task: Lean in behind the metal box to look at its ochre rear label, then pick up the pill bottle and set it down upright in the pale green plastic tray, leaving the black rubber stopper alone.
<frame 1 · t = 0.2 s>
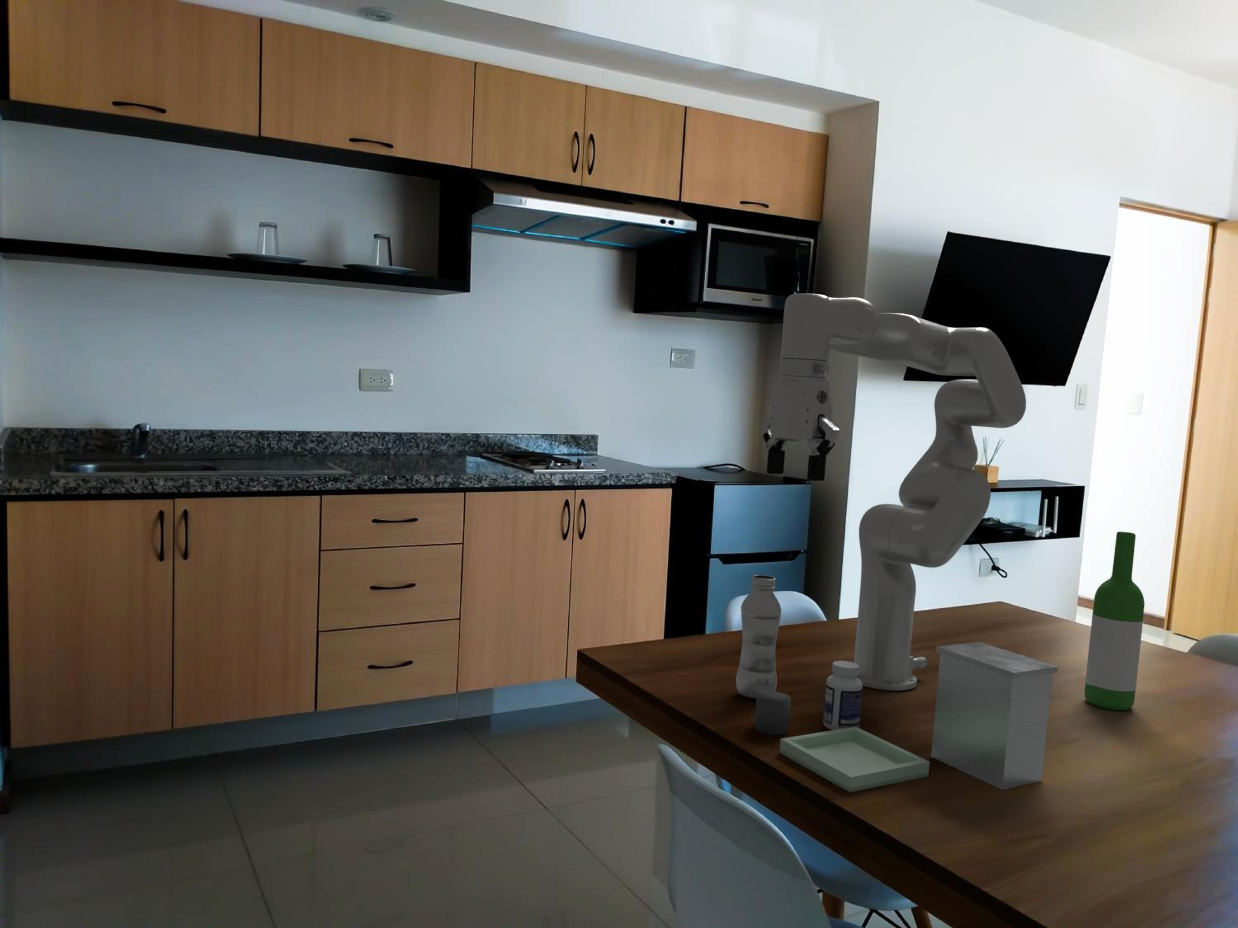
hand: (794, 477, 156), 36 cm above the table, tool pointing down, fingers open, 9 cm apart
wine bottle: (1108, 705, 166), on the table
tray: (852, 764, 131), on the table
stopper: (771, 729, 143), on the table
plastic bottle: (755, 698, 158), on the table
metal box: (985, 768, 133), on the table
pill bottle: (840, 728, 146), on the table
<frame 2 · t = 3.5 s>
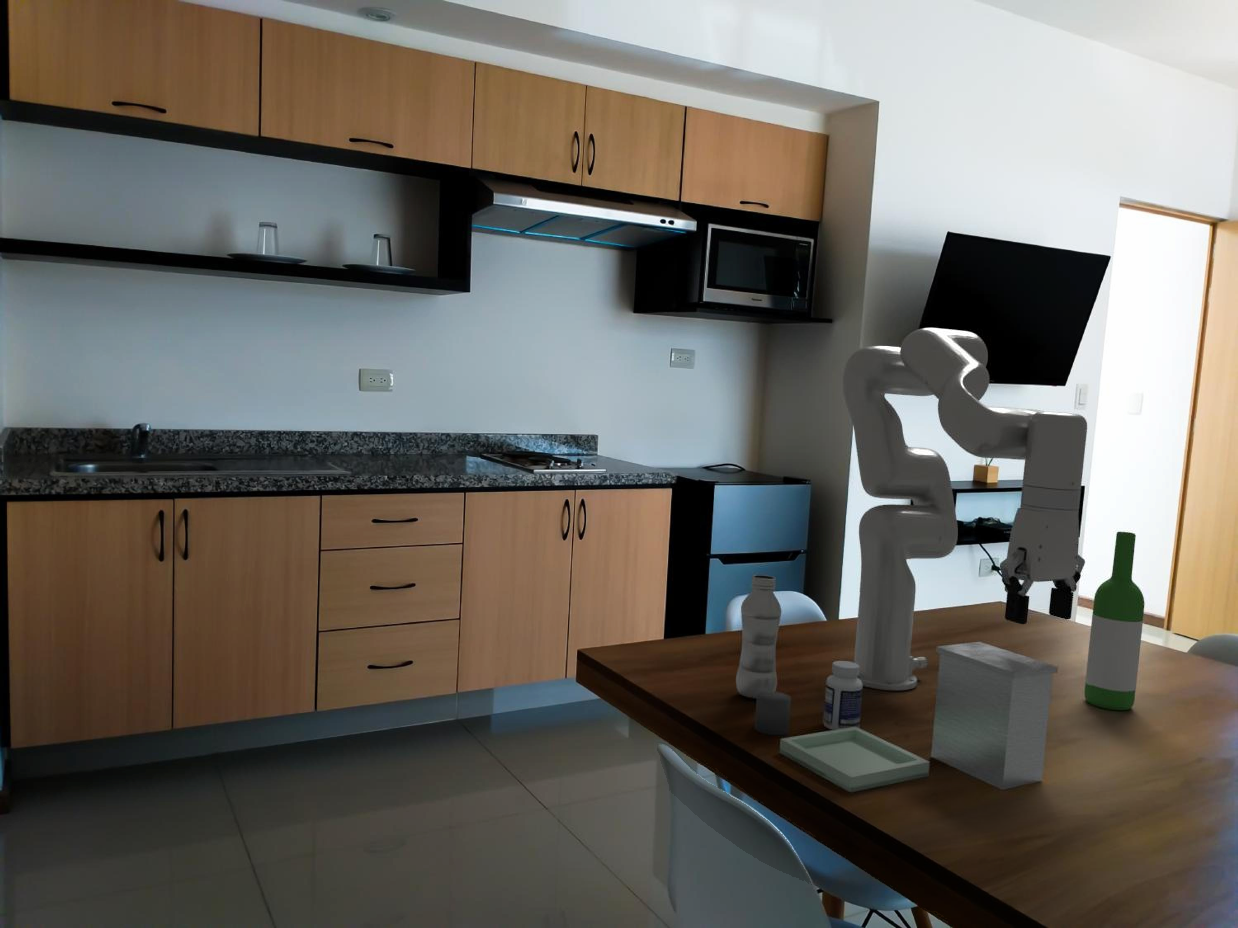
hand: (1037, 619, 136), 20 cm above the table, tool pointing down, fingers open, 9 cm apart
nothing on the table moved.
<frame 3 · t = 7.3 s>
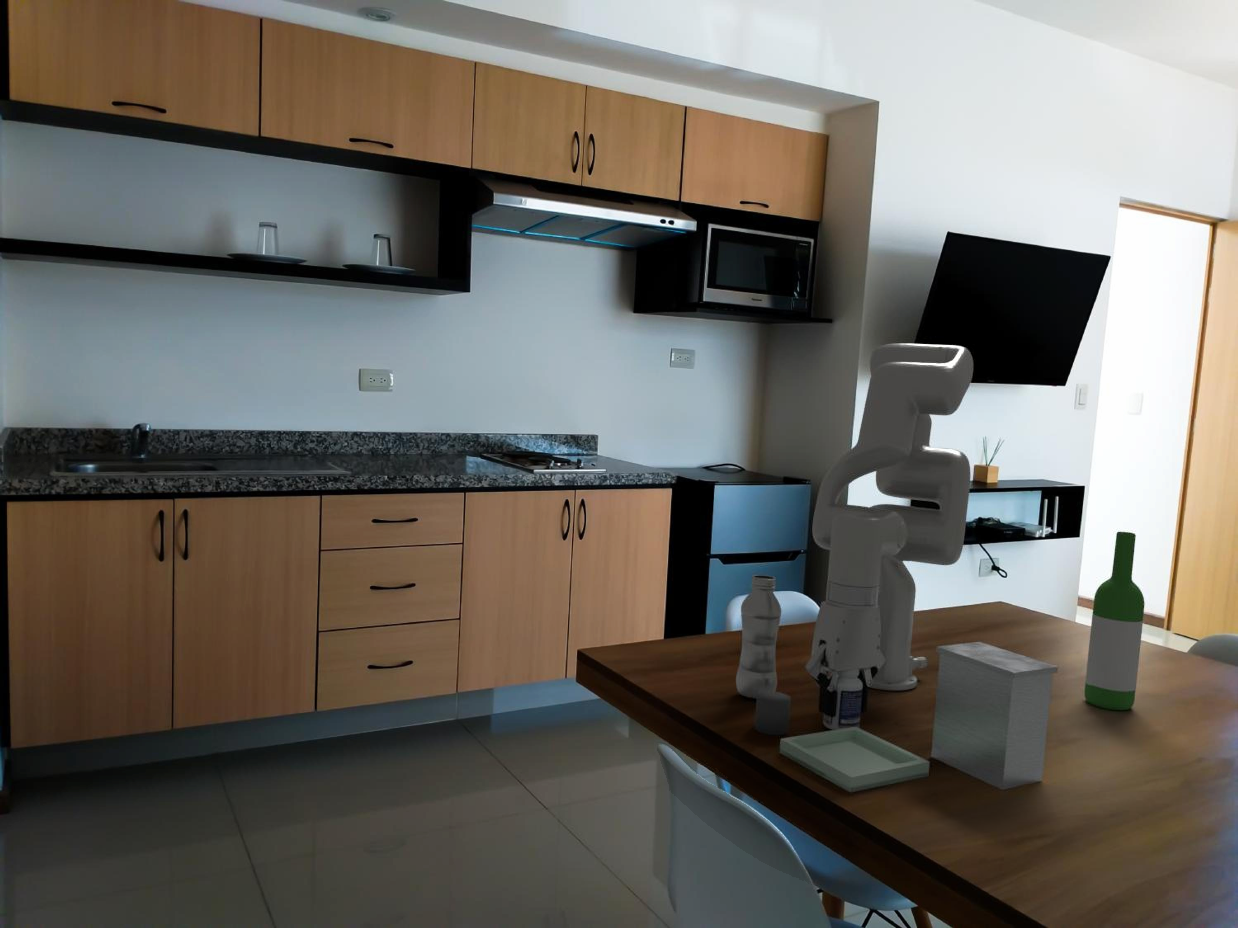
hand: (842, 710, 146), 3 cm above the table, tool pointing down, fingers closed on pill bottle, 5 cm apart
pill bottle: (840, 728, 146), on the table, touching gripper
everything else where it was.
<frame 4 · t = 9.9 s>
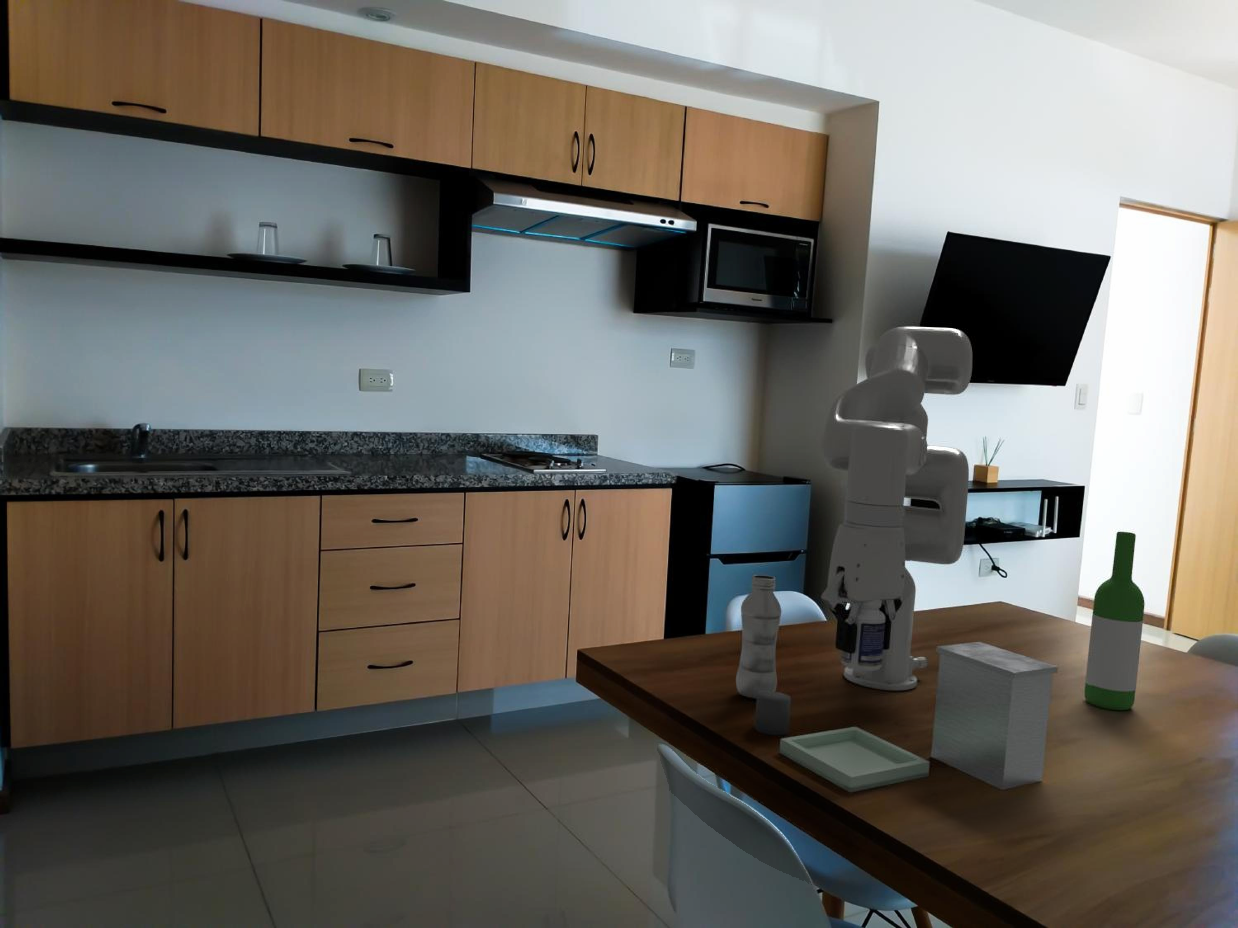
hand: (862, 647, 130), 16 cm above the table, tool pointing down, fingers closed on pill bottle, 5 cm apart
pill bottle: (860, 666, 130), point 14 cm above the table, touching gripper
everything else where it was.
when the fingers open (4 cm above the table, at t = 12.7 s): pill bottle drops 1 cm, resting on tray.
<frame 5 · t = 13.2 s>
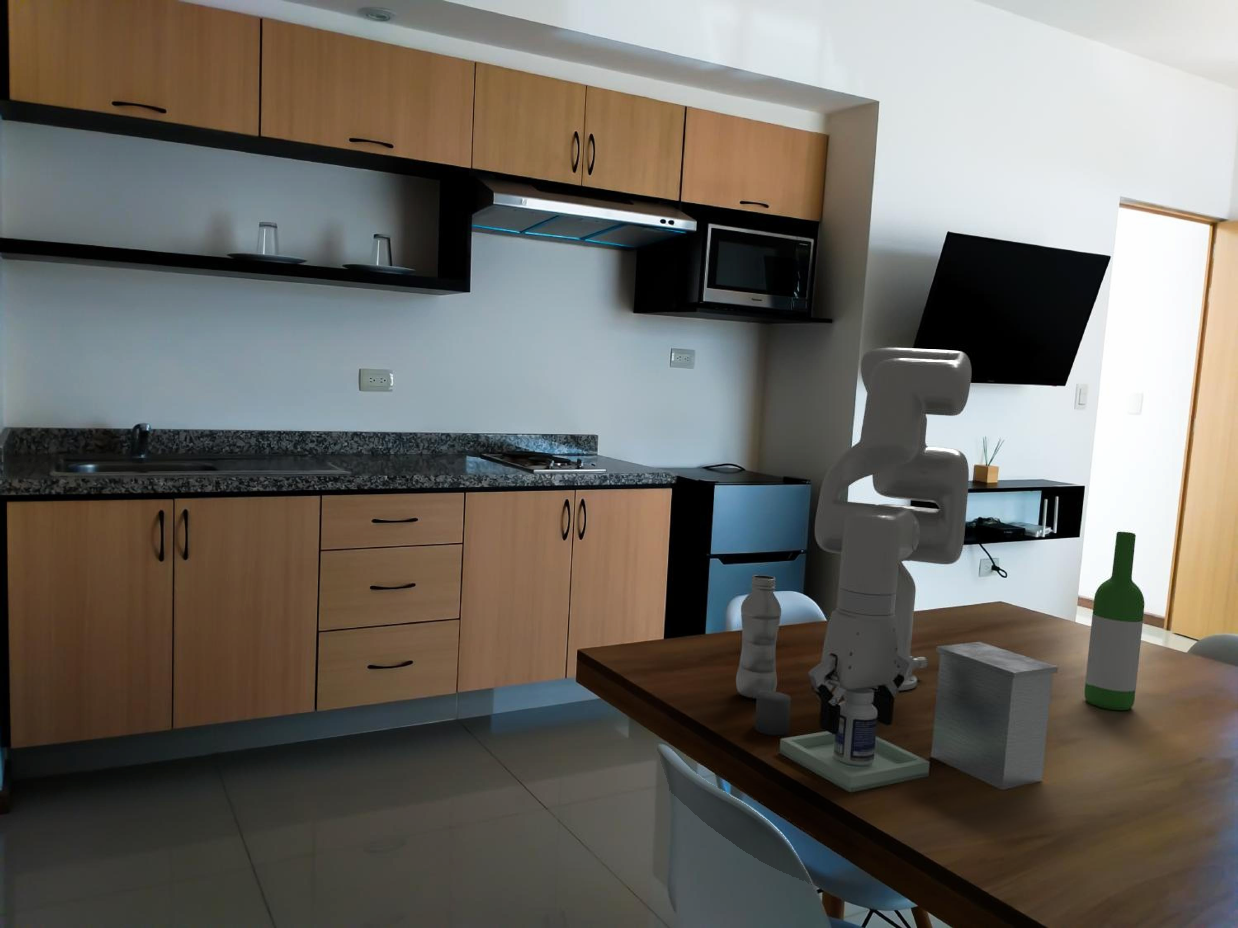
hand: (855, 726, 131), 5 cm above the table, tool pointing down, fingers open, 9 cm apart
pill bottle: (853, 760, 131), resting on tray
everything else where it was.
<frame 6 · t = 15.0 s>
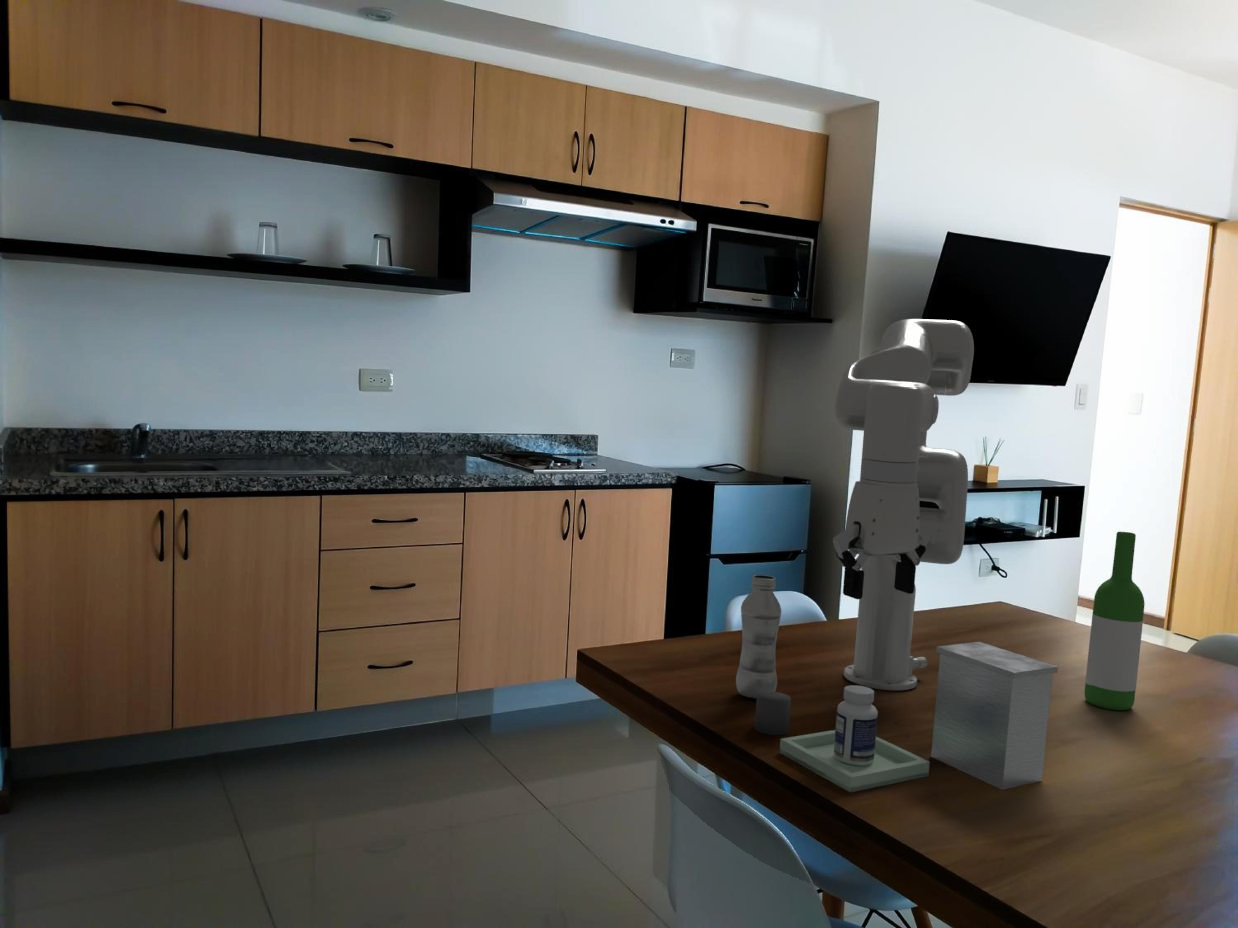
hand: (878, 594, 134), 23 cm above the table, tool pointing down, fingers open, 9 cm apart
nothing on the table moved.
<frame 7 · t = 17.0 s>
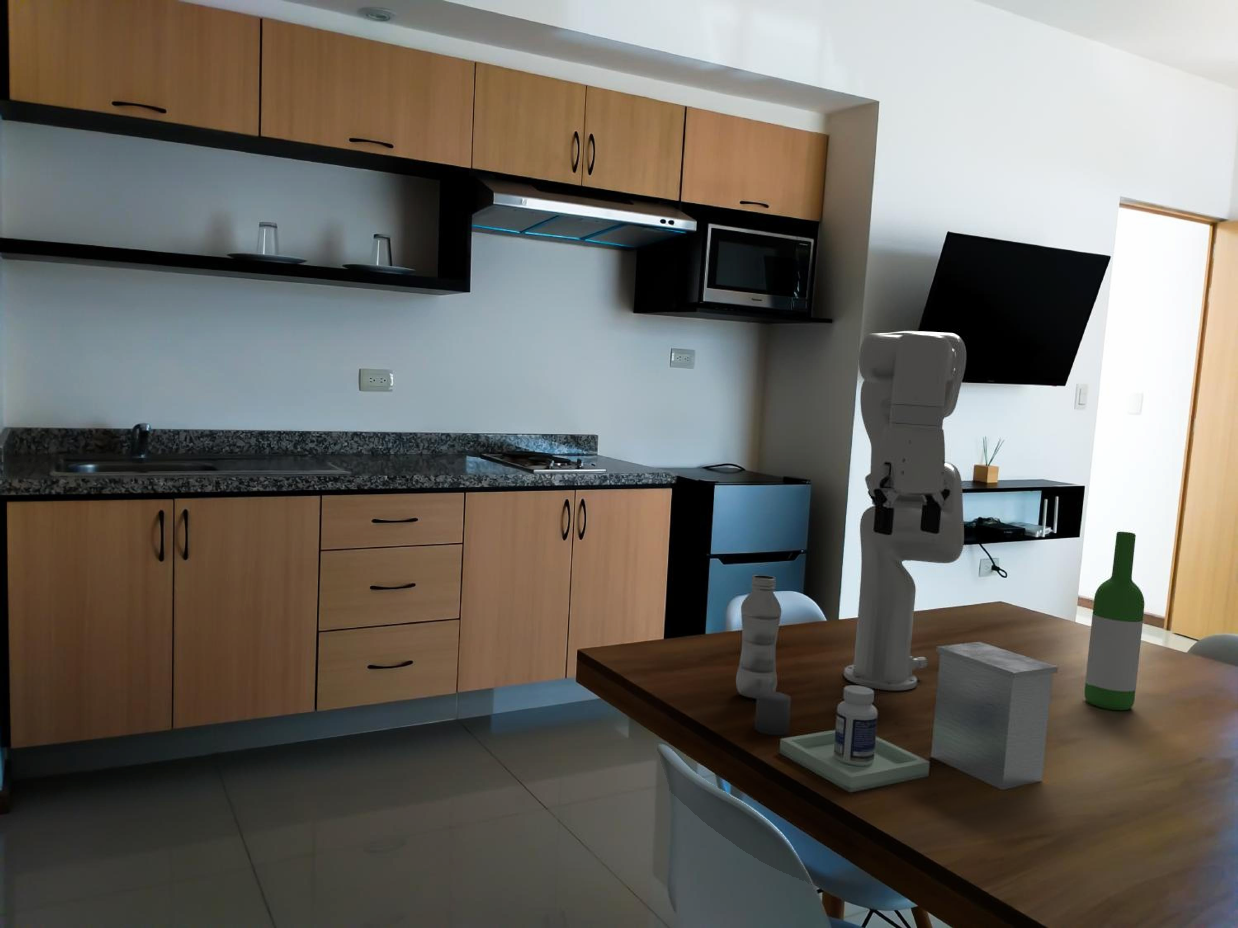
hand: (906, 532, 143), 30 cm above the table, tool pointing down, fingers open, 9 cm apart
nothing on the table moved.
at the end: pill bottle inside the target area on the tray (0.4 cm from its centre), point 0.4 cm above the tray's base; pill bottle tilted 0°; the gripper is holding nothing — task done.
